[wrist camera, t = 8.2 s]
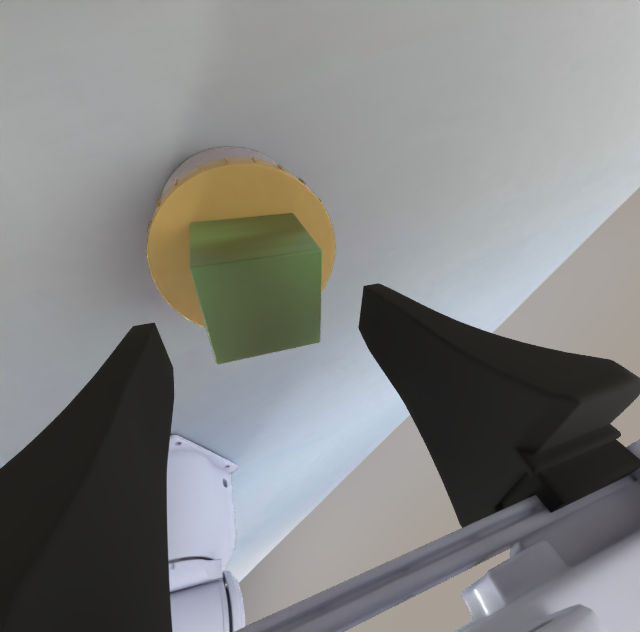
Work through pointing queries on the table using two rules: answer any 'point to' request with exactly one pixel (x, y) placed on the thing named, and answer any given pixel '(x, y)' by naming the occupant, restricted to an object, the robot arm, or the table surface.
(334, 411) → the table surface
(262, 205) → the lid
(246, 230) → the block
